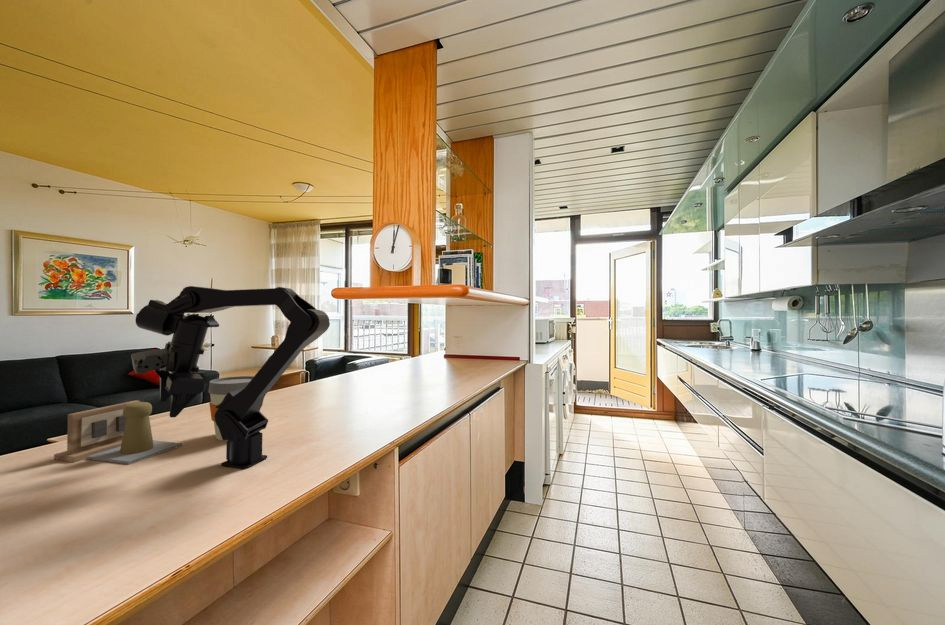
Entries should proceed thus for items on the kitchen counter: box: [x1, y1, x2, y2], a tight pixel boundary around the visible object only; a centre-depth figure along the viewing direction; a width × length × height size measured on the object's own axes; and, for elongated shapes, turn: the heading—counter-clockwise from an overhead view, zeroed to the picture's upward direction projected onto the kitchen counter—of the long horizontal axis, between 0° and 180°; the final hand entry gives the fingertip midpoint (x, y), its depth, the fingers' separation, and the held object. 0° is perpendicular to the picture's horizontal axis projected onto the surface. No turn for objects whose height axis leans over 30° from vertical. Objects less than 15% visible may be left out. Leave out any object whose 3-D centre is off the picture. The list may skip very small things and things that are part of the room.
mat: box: [87, 439, 183, 465], centre depth 89 cm, size 12×12×1 cm
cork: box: [120, 401, 154, 454], centre depth 89 cm, size 6×6×11 cm
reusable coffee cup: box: [208, 375, 261, 442], centre depth 102 cm, size 13×13×15 cm
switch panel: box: [53, 399, 141, 463], centre depth 91 cm, size 6×16×10 cm, turn 168°
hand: (167, 409), depth 84 cm, fingers open, 9 cm apart
